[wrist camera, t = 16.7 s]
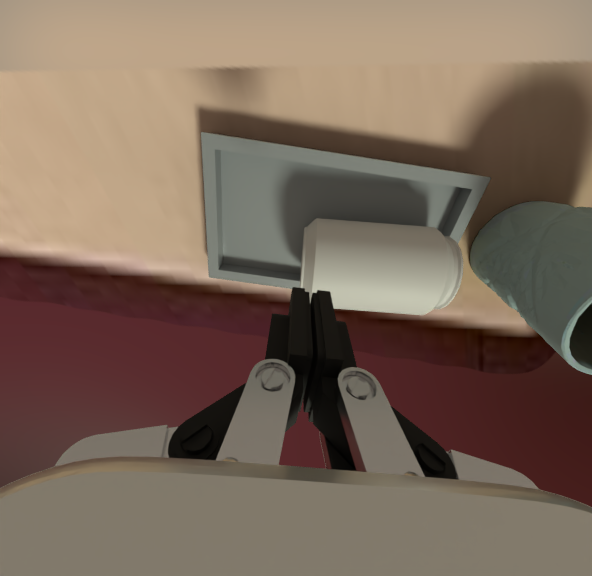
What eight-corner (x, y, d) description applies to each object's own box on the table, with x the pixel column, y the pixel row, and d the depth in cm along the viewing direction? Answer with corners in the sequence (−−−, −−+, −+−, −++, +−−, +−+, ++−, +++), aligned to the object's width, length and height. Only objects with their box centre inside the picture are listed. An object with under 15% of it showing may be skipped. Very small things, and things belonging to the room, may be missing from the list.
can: (301, 274, 16) (486, 288, 16) (306, 197, 20) (456, 208, 20) (297, 320, 22) (428, 330, 22) (301, 255, 26) (414, 263, 26)
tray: (216, 266, 27) (208, 277, 25) (212, 132, 21) (200, 131, 18) (417, 294, 28) (426, 307, 26) (472, 173, 21) (491, 177, 19)
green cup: (444, 281, 27) (529, 369, 16) (493, 181, 22) (662, 218, 11) (535, 292, 27) (675, 386, 17) (606, 195, 22) (872, 246, 11)
